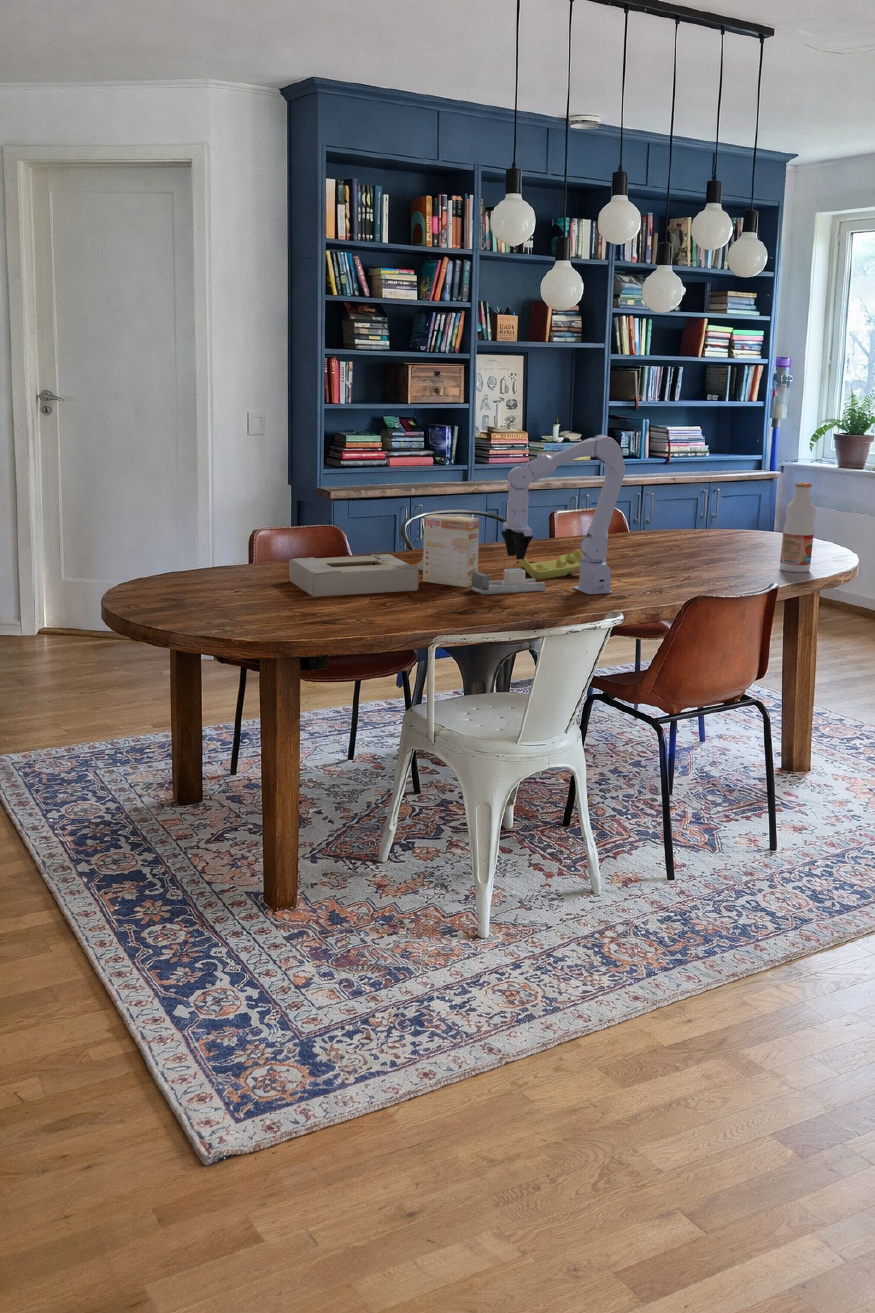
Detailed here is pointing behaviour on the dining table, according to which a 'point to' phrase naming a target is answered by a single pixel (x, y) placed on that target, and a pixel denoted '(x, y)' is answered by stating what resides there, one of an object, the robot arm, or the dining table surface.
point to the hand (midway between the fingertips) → (515, 557)
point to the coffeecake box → (450, 549)
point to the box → (353, 575)
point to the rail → (495, 587)
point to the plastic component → (553, 566)
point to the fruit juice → (798, 531)
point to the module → (514, 576)
